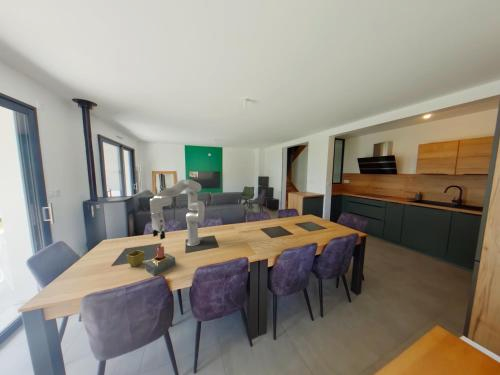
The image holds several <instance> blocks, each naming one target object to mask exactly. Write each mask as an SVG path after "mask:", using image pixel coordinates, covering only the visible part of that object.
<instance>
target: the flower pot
mask: <svg viewBox="0 0 500 375" xmlns="http://www.w3.org/2000/svg"><path fill="white" fill-rule="evenodd" d="M125 256H126V261H127V263H128V264H129V265H130V266H132V267H137V266H140V265H141V264H142V263H143V261H144V260H145V259H144V258H145V251H142V250H134V251H132V252H130V253H127V254H126V255H125Z"/></svg>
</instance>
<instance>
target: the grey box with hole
mask: <svg viewBox="0 0 500 375" xmlns="http://www.w3.org/2000/svg"><path fill="white" fill-rule="evenodd" d="M164 256H165V258H164V259H162V260H160V261H158V256H155V257H153V258H151V259H150V260H147V261H145V262H144V264H145V265H144V267H145V268H144V269H145V271H146V272H147V273H149V274H151V275H152V276H157V275H158V274H161V273H162V272H164V271H166V270H168V269H170V268H172V267H174V266H176V256H173V255H171V254H169V253H164Z"/></svg>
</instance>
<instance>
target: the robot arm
mask: <svg viewBox="0 0 500 375" xmlns="http://www.w3.org/2000/svg"><path fill="white" fill-rule="evenodd" d="M201 191H202V185H201V184H200V183H199V182H197V181H195V180H192V179H181V180H179V181H177V182H176V183H175V184H174V185H172V186H171V187H169V188H166V189H163V190H161V191H160V192H158V193H157V194H155V195H154V196H153V197H152V198H150V199H149V206H150V207H149V208H150V218H151V224H150V225H151V229H152V237H155V238H156V237H158V236H159V238H160V239H159V240H164V239H165V238H166V223H165V218H164V211H163V207H167V206H170V205H172V204H173V197H177V196H179V195H180V194H181V193H182V192H186V194H187V208H188V210H189V211H188V212H187V213H186V215H185V220H186V224H187V226H186V227H187V241H186V246H189V247H195V246H197V245H199V244H200V243H201V240H202V239H203V236H199V231H198V230H199V229H198V228H199V227H198V226H199V225H198V223H203V221H204V220H205V210H206V209H205V208H206V207H205V202H203V201H202V200H198V193H199V192H201ZM158 232H159V233H160V234H159V233H158Z"/></svg>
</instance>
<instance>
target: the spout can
mask: <svg viewBox="0 0 500 375" xmlns="http://www.w3.org/2000/svg"><path fill="white" fill-rule="evenodd" d="M156 254H157V256H158V261H160V260H162V259H164V258H165V256H164V254H165V247H164V246H160V244H157V247H156ZM157 256H156V257H157Z"/></svg>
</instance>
